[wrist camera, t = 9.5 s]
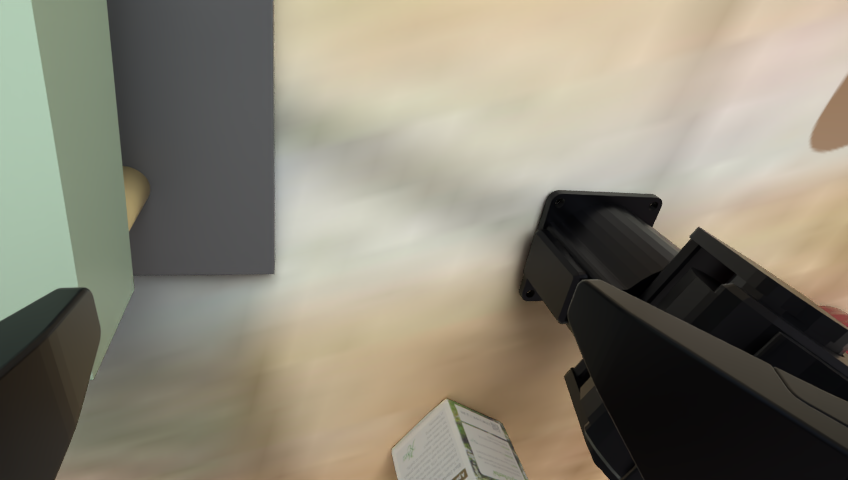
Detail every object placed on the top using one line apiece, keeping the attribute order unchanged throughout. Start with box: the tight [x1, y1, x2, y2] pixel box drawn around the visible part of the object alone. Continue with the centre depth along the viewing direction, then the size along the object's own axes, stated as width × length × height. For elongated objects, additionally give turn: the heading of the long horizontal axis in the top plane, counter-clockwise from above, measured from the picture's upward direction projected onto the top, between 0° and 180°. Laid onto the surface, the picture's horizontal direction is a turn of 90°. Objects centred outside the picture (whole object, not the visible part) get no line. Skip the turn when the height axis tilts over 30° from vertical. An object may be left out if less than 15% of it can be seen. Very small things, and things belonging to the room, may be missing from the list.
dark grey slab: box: [107, 0, 275, 275], centre depth 14 cm, size 14×18×4 cm
